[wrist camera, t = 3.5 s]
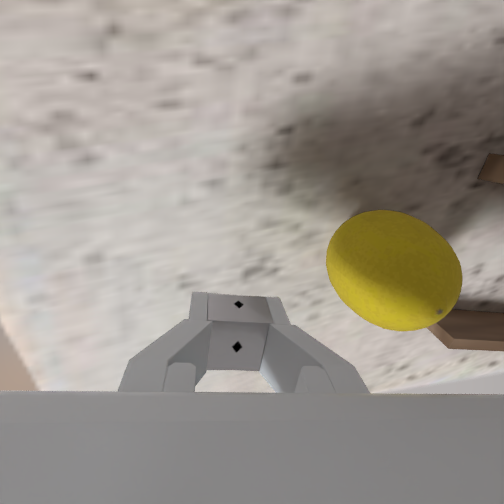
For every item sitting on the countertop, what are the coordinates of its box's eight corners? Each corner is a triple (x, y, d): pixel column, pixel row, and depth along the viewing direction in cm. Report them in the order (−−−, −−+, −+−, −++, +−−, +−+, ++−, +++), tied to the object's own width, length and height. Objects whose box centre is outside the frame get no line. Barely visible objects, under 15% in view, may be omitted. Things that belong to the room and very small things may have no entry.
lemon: (407, 209, 18) (538, 267, 11) (367, 283, 20) (455, 374, 13) (330, 183, 17) (419, 229, 9) (295, 265, 19) (347, 355, 11)
